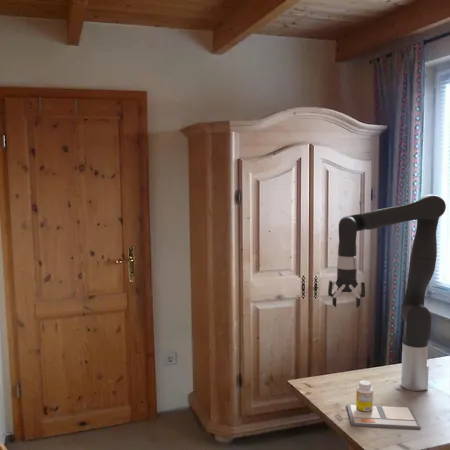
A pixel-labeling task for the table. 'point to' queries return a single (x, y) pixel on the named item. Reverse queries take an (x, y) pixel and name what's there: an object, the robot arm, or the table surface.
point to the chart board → (384, 417)
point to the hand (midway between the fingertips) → (346, 306)
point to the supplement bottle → (364, 397)
